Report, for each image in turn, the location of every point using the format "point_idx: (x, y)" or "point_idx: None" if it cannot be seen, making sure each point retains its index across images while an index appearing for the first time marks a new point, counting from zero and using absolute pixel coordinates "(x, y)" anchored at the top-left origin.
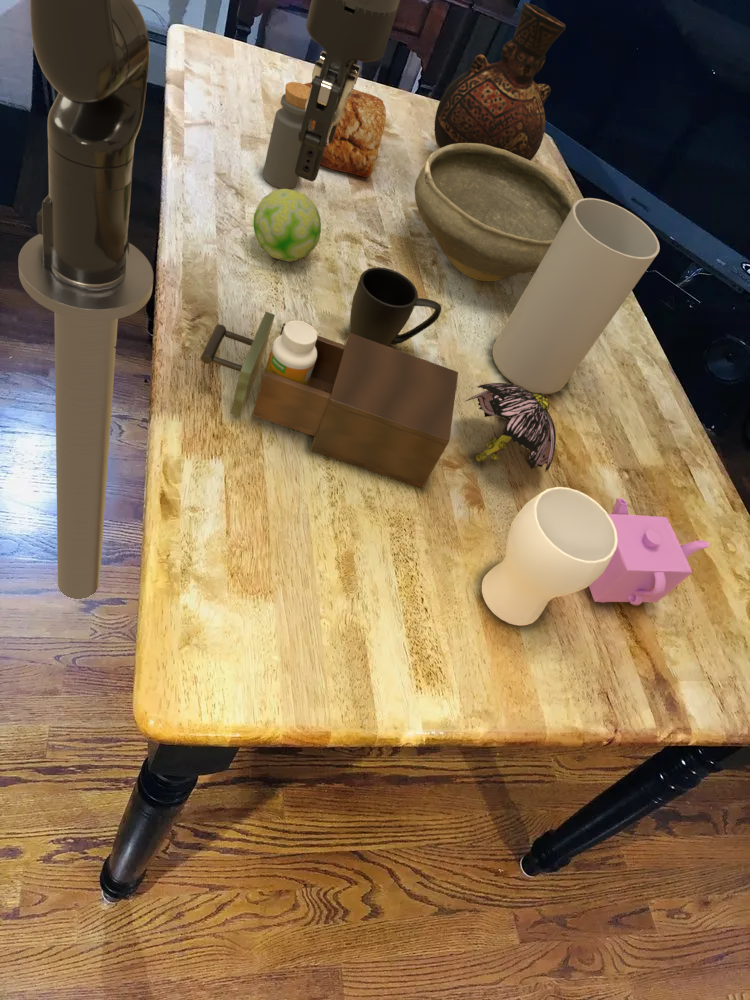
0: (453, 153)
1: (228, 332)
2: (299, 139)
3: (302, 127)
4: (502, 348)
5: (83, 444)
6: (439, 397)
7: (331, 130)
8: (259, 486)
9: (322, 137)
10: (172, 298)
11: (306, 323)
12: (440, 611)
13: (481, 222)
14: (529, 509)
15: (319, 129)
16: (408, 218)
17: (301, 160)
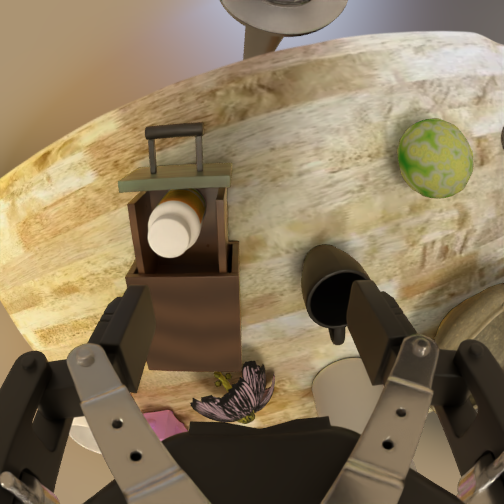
0: None
1: (198, 139)
2: (18, 359)
3: (4, 385)
4: (340, 372)
5: (246, 37)
6: (195, 361)
7: (357, 336)
8: (89, 215)
9: (35, 422)
10: (284, 57)
11: (186, 241)
12: (78, 342)
13: (492, 325)
14: (86, 421)
15: (360, 304)
16: (498, 262)
17: (101, 320)
